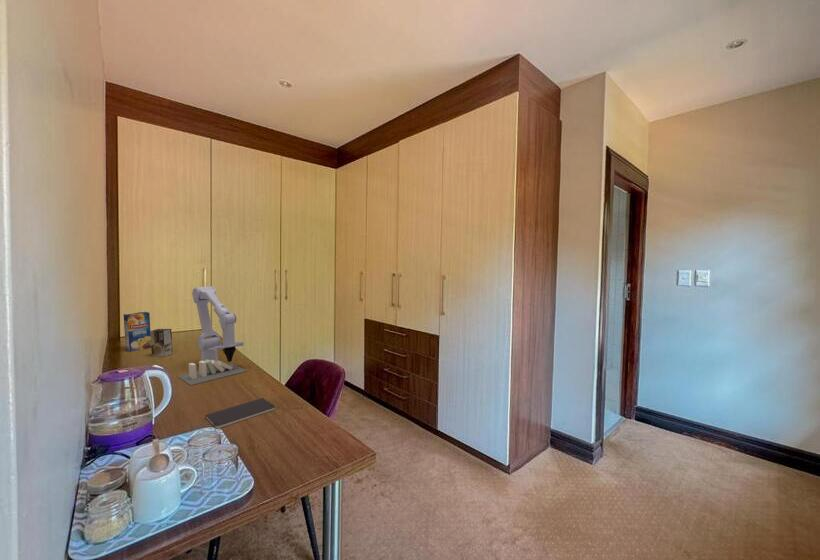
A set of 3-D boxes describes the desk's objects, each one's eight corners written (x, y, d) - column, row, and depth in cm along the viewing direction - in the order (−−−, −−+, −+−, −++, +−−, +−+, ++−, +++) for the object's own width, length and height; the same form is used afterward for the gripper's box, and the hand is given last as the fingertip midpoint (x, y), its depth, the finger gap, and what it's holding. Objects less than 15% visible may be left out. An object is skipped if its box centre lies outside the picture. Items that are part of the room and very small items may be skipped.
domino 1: (192, 379, 165) (191, 365, 164) (189, 377, 168) (188, 363, 167) (196, 378, 166) (195, 364, 166) (193, 376, 169) (192, 362, 169)
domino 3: (221, 372, 175) (212, 363, 171) (218, 370, 178) (208, 362, 174) (224, 369, 176) (215, 361, 172) (221, 367, 179) (211, 359, 175)
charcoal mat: (177, 376, 170) (177, 375, 170) (231, 364, 190) (231, 363, 190) (190, 385, 157) (190, 384, 157) (247, 371, 177) (246, 370, 177)
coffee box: (173, 353, 212) (172, 328, 211) (164, 356, 206) (163, 330, 205) (160, 353, 213) (158, 328, 212) (151, 356, 207) (149, 330, 206)
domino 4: (231, 370, 178) (219, 364, 174) (227, 368, 181) (215, 363, 177) (233, 367, 179) (221, 361, 175) (229, 365, 182) (218, 359, 178)
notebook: (262, 401, 141) (205, 419, 125) (262, 397, 141) (205, 414, 125) (276, 410, 132) (216, 430, 117) (276, 406, 132) (216, 426, 116)
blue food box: (147, 346, 232) (145, 311, 231) (151, 347, 228) (149, 312, 226) (125, 350, 222) (123, 314, 221) (129, 351, 218) (127, 315, 217)
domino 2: (202, 377, 168) (202, 363, 168) (199, 374, 171) (198, 361, 171) (206, 376, 169) (206, 362, 169) (203, 374, 173) (202, 360, 172)
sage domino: (212, 374, 172) (207, 362, 169) (209, 372, 175) (203, 361, 173) (216, 372, 173) (210, 360, 171) (212, 370, 176) (207, 359, 174)
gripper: (216, 339, 171) (217, 366, 172) (245, 334, 182) (246, 359, 183) (211, 337, 176) (212, 363, 176) (240, 333, 186) (241, 357, 187)
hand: (229, 361), depth 180 cm, fingers closed
